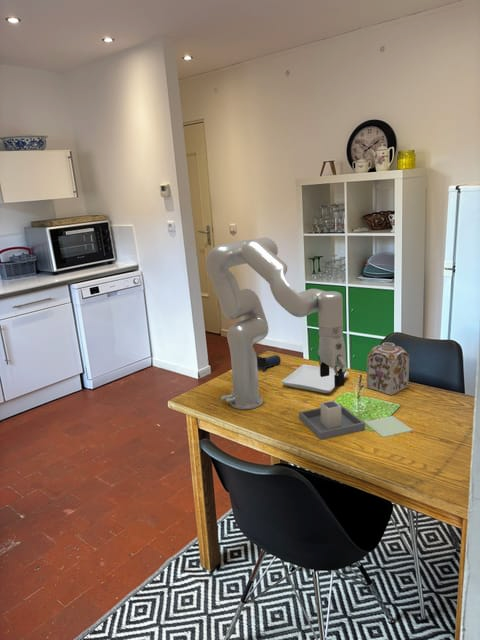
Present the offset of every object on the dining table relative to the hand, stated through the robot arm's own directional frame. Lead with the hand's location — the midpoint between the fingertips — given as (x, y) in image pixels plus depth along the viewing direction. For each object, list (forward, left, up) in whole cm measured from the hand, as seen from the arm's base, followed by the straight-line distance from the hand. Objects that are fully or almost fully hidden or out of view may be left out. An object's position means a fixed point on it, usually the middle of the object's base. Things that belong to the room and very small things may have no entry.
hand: (331, 381), depth 160 cm
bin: (0, 0, -16) cm, 16 cm away
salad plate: (+12, +35, -17) cm, 41 cm away
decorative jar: (+35, +19, -16) cm, 43 cm away
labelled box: (0, 0, -16) cm, 16 cm away
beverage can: (+1, +61, -17) cm, 63 cm away
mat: (+16, -9, -16) cm, 24 cm away
